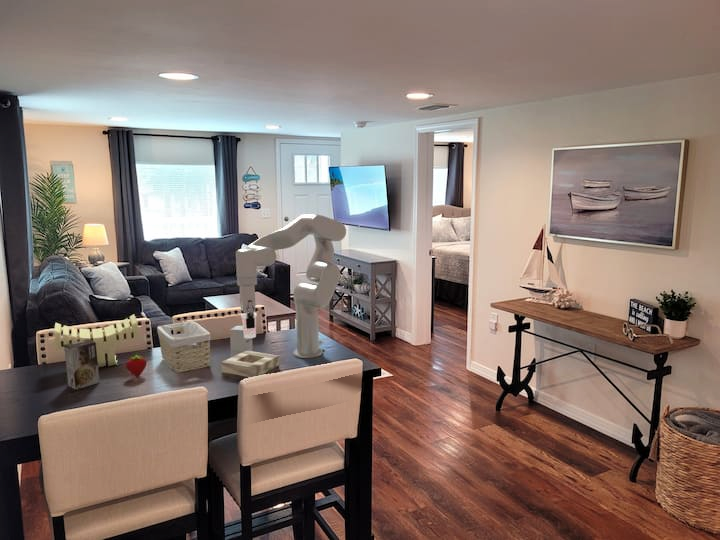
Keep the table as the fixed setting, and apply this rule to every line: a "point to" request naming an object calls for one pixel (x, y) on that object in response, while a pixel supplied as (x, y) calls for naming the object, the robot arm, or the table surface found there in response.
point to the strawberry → (136, 365)
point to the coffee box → (81, 363)
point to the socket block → (250, 364)
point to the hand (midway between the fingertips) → (249, 325)
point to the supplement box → (239, 341)
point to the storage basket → (185, 346)
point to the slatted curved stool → (100, 338)
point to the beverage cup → (251, 331)
